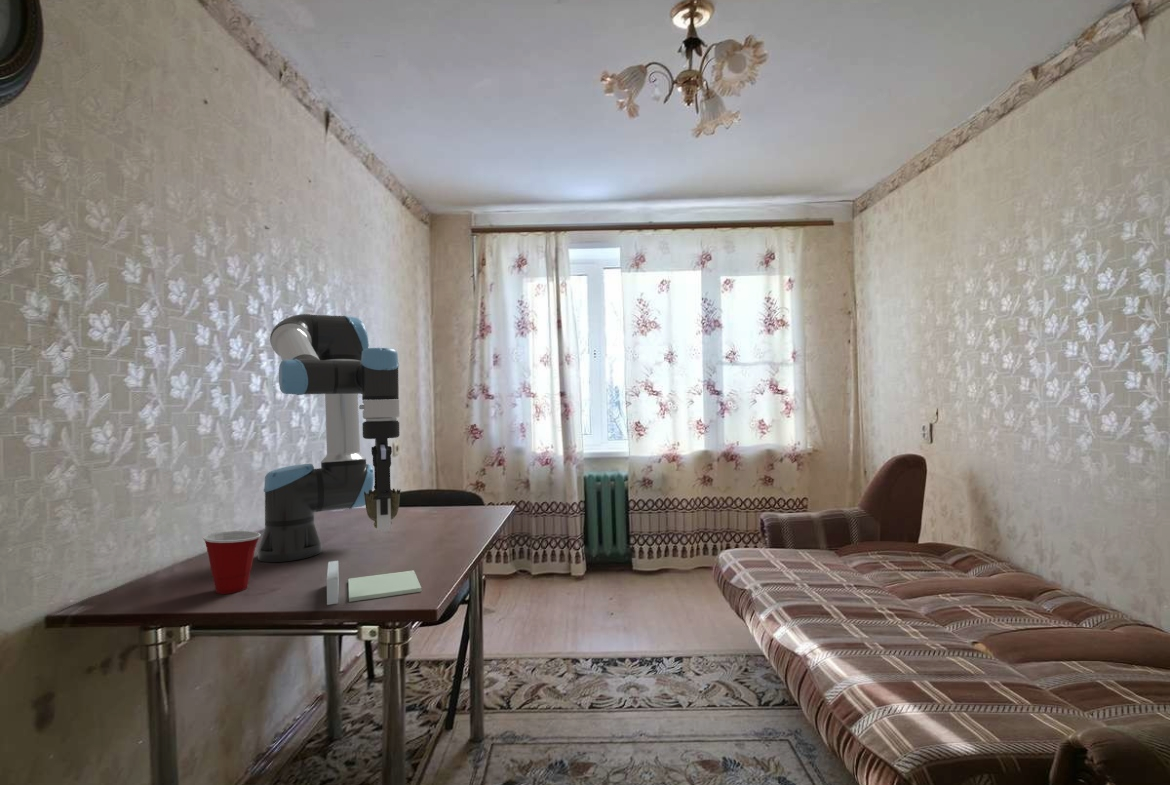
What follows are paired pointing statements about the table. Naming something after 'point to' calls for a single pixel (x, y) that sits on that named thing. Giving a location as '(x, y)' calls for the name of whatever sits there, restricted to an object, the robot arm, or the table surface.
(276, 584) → the table surface
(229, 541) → the plastic cup
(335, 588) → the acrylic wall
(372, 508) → the cup
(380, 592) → the green pad
